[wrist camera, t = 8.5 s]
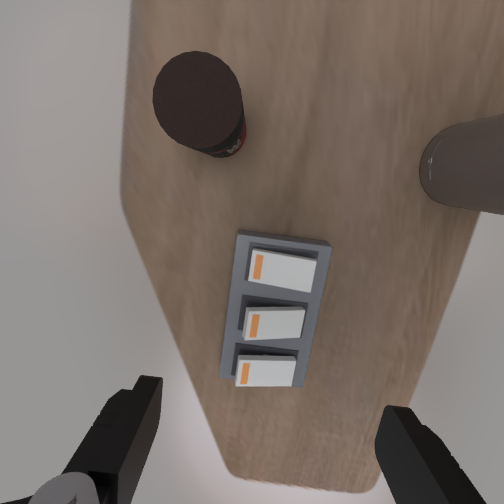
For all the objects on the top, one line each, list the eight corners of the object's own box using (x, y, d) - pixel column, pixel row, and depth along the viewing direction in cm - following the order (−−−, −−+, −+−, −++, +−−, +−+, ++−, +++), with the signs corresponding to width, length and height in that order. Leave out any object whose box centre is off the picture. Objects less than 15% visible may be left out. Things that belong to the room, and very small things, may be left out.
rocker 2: (299, 304, 38) (305, 310, 36) (294, 330, 38) (300, 338, 37) (244, 304, 35) (249, 311, 34) (240, 332, 36) (244, 340, 35)
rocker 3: (292, 353, 39) (296, 361, 37) (287, 377, 40) (291, 386, 38) (237, 352, 37) (239, 360, 36) (234, 377, 38) (235, 387, 37)
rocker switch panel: (326, 241, 38) (333, 247, 35) (299, 372, 43) (303, 388, 40) (238, 229, 38) (237, 234, 35) (220, 363, 43) (218, 378, 40)
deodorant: (230, 167, 36) (216, 165, 21) (184, 140, 35) (137, 119, 21) (255, 120, 35) (258, 83, 20) (209, 91, 34) (177, 31, 19)
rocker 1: (316, 257, 34) (316, 261, 33) (310, 287, 35) (310, 293, 34) (254, 247, 35) (252, 250, 34) (250, 276, 36) (247, 281, 35)
